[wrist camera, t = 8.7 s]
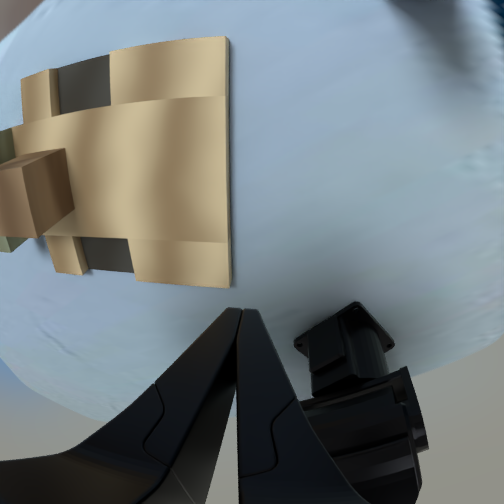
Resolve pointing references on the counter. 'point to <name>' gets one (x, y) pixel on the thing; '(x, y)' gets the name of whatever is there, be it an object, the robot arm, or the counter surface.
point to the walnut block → (34, 193)
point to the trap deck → (137, 160)
